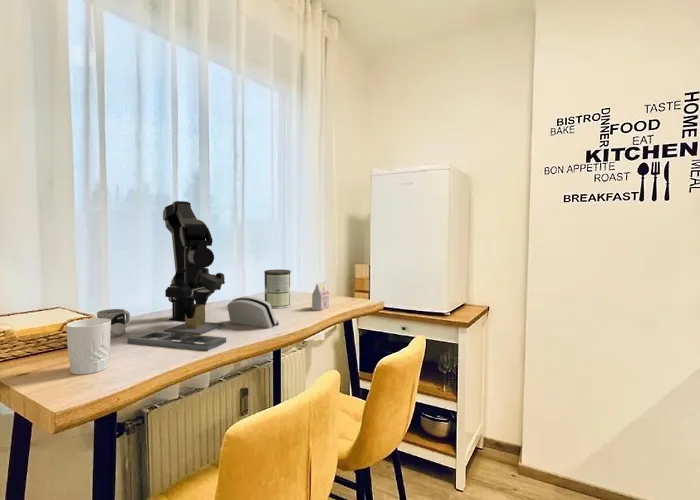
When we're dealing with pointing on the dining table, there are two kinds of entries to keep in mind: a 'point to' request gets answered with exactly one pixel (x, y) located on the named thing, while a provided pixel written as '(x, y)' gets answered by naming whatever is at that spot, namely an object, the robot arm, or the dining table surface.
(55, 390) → the dining table surface
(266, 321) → the grey rounded two-tone device
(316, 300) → the milk carton
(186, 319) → the mustard yellow block
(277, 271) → the coffee can
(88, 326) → the white cup
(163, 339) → the grey slotted frame
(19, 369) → the dining table surface
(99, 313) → the mug
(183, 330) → the rubber pad
